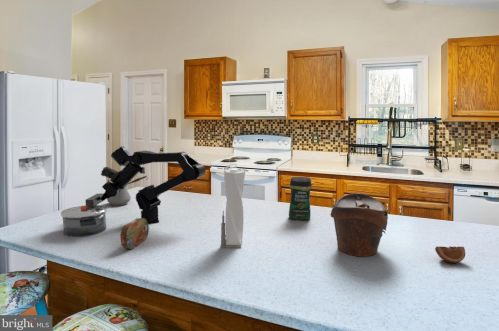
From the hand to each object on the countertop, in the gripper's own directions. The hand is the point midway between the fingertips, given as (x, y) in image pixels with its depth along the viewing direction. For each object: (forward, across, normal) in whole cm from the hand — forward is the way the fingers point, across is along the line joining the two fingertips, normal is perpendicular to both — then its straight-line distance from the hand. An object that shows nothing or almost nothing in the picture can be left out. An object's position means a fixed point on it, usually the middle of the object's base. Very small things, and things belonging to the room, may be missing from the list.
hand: (101, 199), depth 147 cm
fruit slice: (-78, +56, +90) cm, 132 cm away
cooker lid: (+3, +8, 0) cm, 9 cm away
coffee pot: (+4, -29, +10) cm, 31 cm away
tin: (-7, +30, +20) cm, 37 cm away
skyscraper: (-32, +33, +44) cm, 64 cm away
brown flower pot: (-61, +44, +73) cm, 105 cm away
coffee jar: (-54, +5, +67) cm, 86 cm away
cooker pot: (+9, +11, +4) cm, 15 cm away
